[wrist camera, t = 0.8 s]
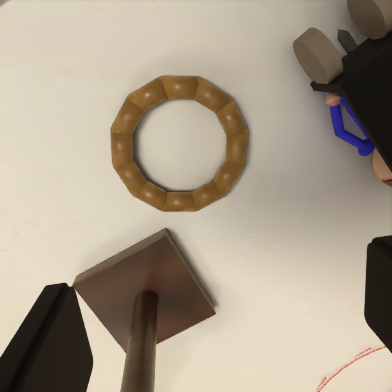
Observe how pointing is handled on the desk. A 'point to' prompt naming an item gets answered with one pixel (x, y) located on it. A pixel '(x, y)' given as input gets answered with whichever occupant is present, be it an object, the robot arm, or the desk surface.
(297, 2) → the desk surface
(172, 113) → the desk surface
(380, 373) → the desk surface
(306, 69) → the figurine character
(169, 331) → the peg stand
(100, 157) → the desk surface
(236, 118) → the ring
